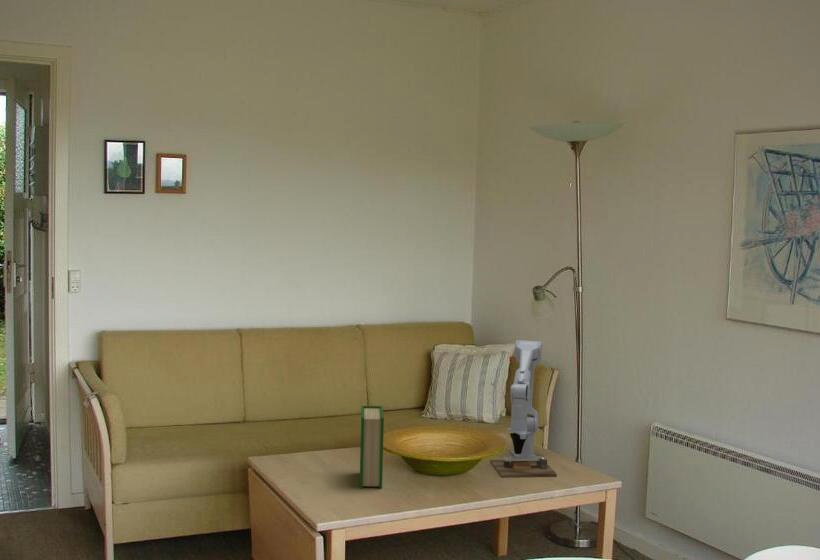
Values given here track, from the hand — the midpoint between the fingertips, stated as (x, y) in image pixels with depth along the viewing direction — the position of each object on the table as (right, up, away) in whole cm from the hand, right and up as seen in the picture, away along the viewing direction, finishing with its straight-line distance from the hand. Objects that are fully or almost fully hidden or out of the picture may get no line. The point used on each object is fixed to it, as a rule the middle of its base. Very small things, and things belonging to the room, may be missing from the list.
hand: (517, 453), depth 324 cm
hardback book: (-52, -6, -17) cm, 55 cm away
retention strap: (+2, -3, 0) cm, 3 cm away
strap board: (+2, -6, +1) cm, 6 cm away
